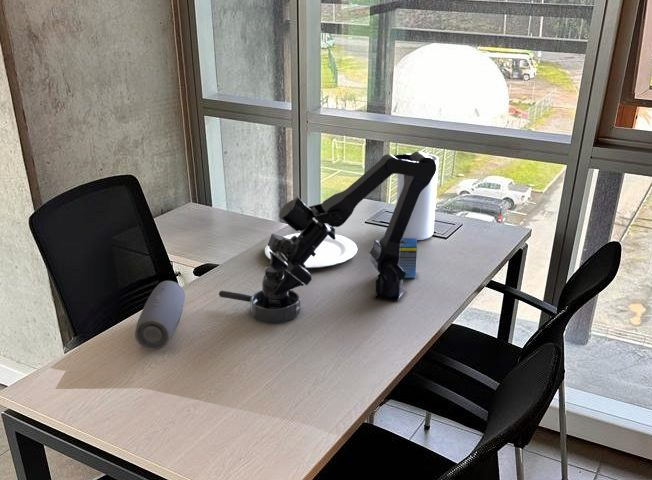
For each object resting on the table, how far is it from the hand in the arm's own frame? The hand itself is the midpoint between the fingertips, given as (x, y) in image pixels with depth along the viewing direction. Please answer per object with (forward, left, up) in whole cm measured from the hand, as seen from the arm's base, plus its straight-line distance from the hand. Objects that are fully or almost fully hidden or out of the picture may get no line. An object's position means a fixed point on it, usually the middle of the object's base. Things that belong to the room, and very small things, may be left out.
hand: (269, 287), depth 188 cm
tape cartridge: (-26, -35, -8) cm, 44 cm away
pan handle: (+10, -1, -5) cm, 12 cm away
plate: (+5, -42, -8) cm, 43 cm away
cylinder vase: (-21, -69, -8) cm, 72 cm away
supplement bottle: (-1, -1, -7) cm, 7 cm away
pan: (-1, -1, -8) cm, 8 cm away
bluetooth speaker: (+21, +19, -8) cm, 30 cm away
